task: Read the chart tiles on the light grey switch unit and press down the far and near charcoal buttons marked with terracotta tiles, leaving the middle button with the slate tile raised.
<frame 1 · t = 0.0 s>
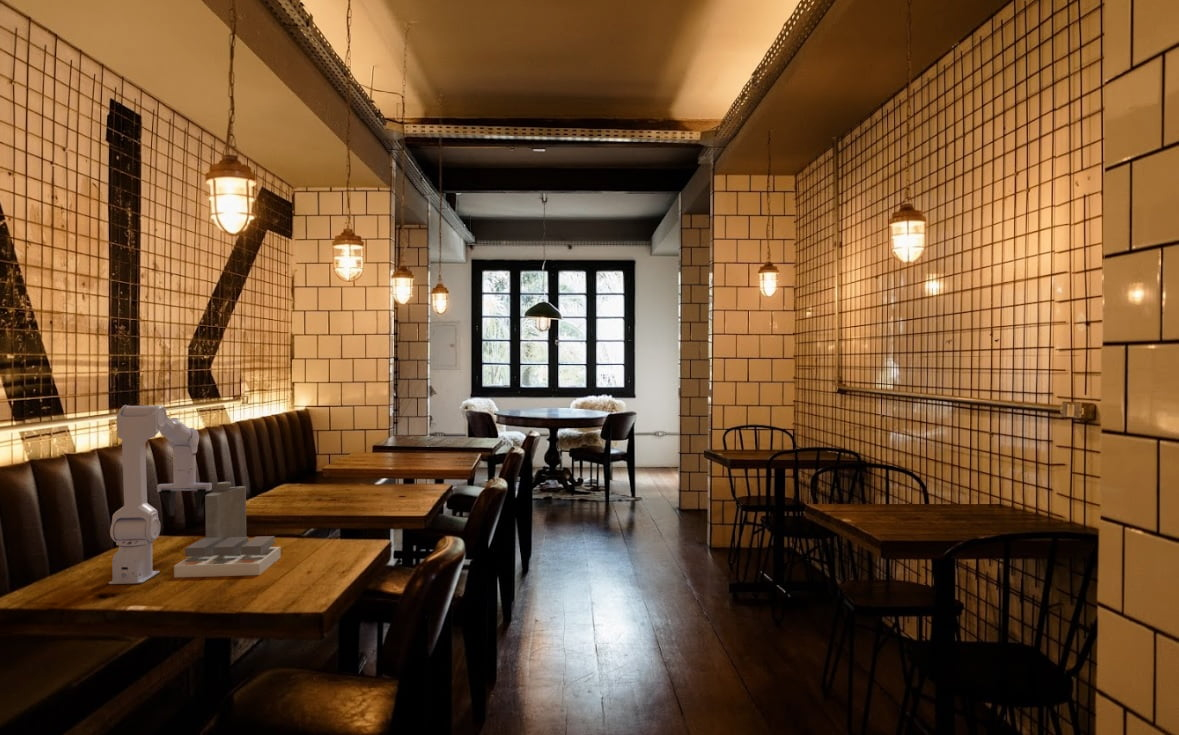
hand: (185, 515, 218), 10 cm above the table, tool pointing down, fingers open, 7 cm apart
hip flask: (225, 551, 217), on the table
button far: (204, 546, 200), point 5 cm above the table, slide at 0.0 cm
button middle: (231, 545, 201), point 5 cm above the table, slide at 0.0 cm
switch unit: (231, 565, 201), on the table
button near: (258, 545, 202), point 5 cm above the table, slide at 0.0 cm
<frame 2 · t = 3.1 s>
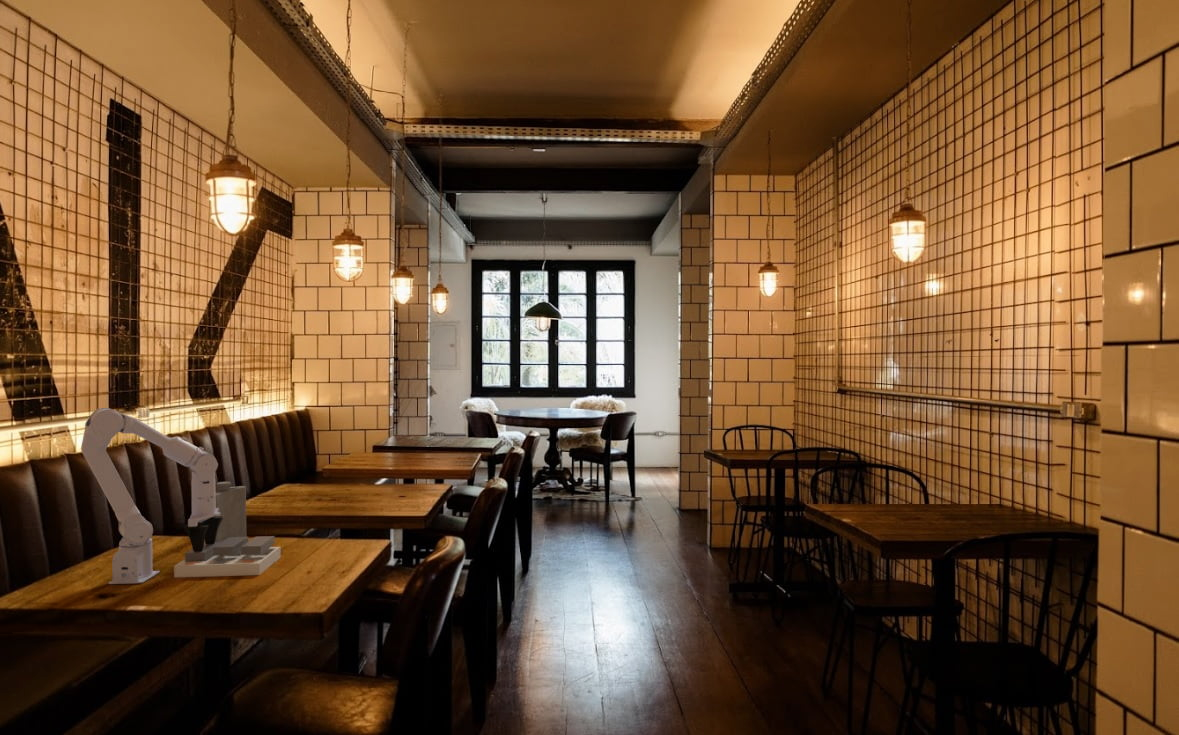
hand: (204, 547, 200), 5 cm above the table, tool pointing down, fingers open, 7 cm apart
button far: (204, 551, 200), point 4 cm above the table, slide at 1.3 cm, touching gripper
everything else where it was.
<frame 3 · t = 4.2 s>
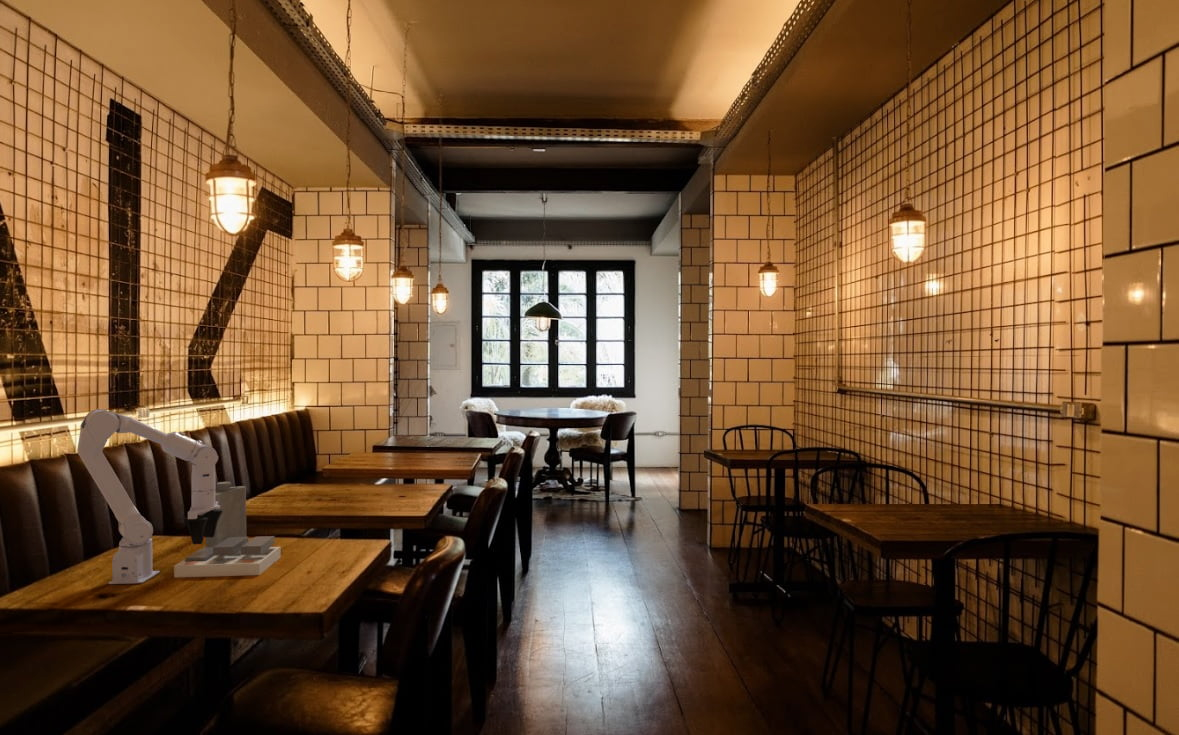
hand: (203, 540, 200), 7 cm above the table, tool pointing down, fingers open, 7 cm apart
button far: (204, 556, 200), point 3 cm above the table, slide at 2.6 cm
everything else where it was.
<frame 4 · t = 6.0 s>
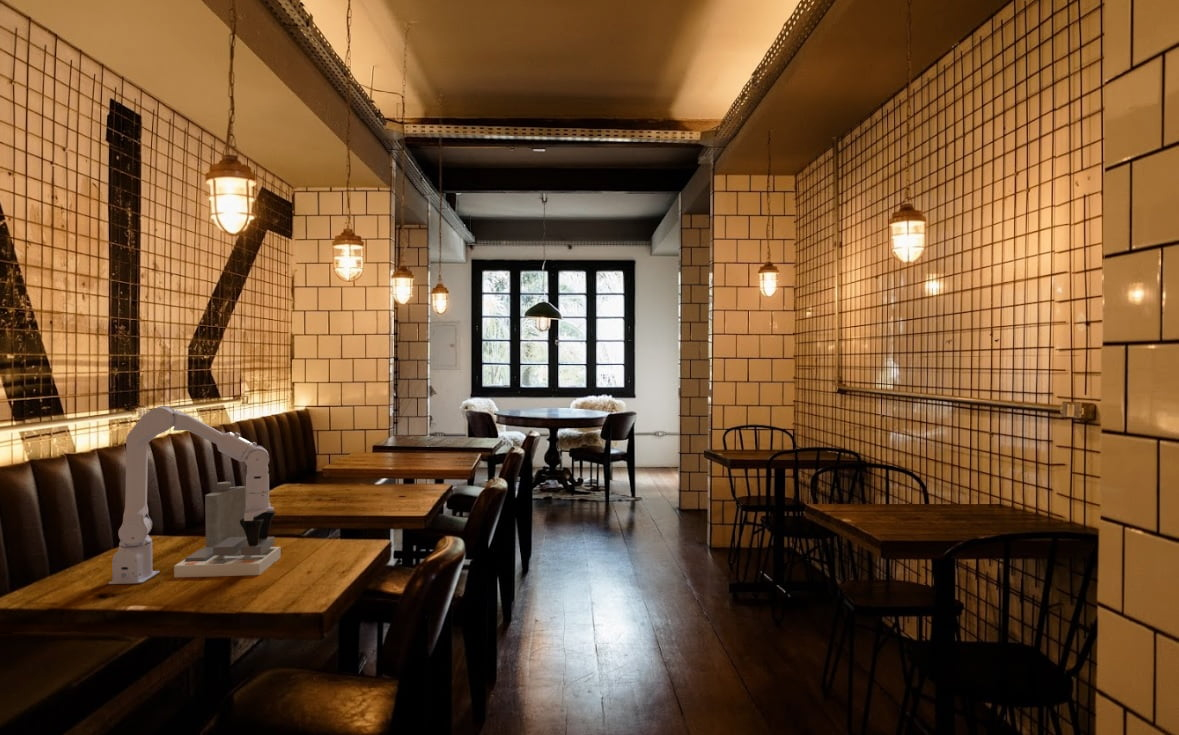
hand: (258, 541, 202), 6 cm above the table, tool pointing down
button near: (258, 545, 202), point 5 cm above the table, slide at 0.2 cm, touching gripper
everything else where it was.
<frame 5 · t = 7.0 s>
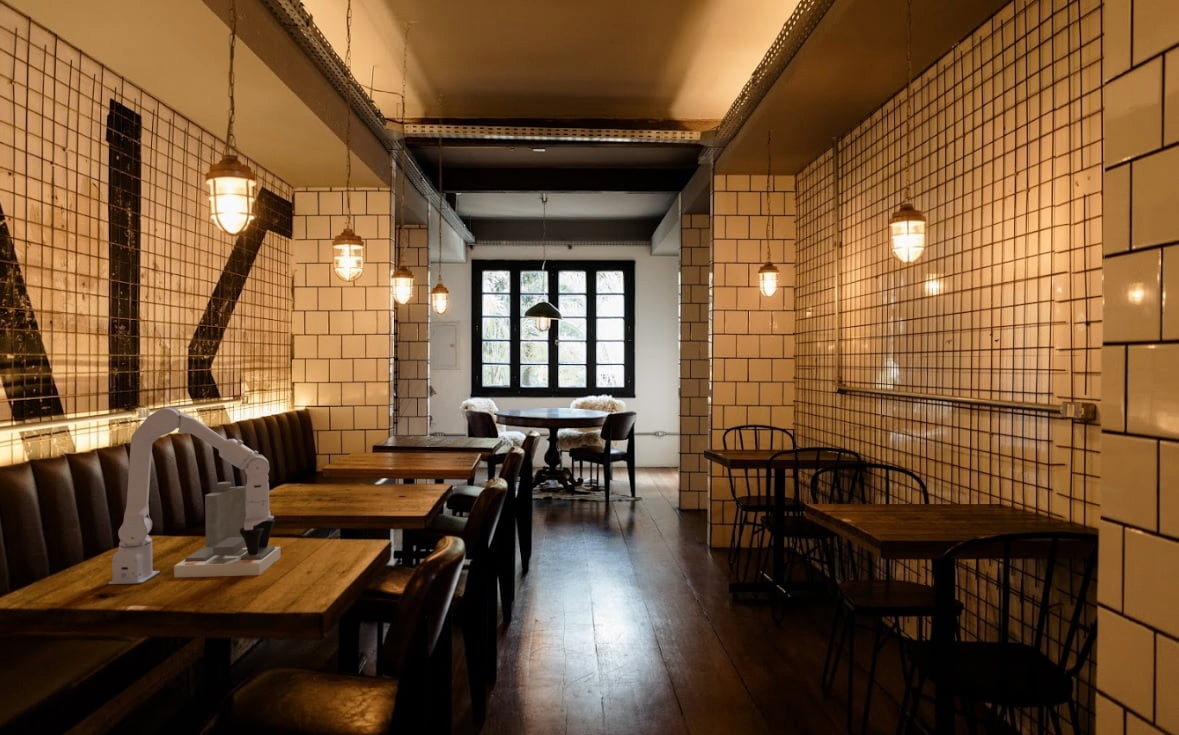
hand: (258, 550, 202), 4 cm above the table, tool pointing down, fingers open, 7 cm apart
button near: (258, 554, 202), point 3 cm above the table, slide at 2.6 cm
everything else where it was.
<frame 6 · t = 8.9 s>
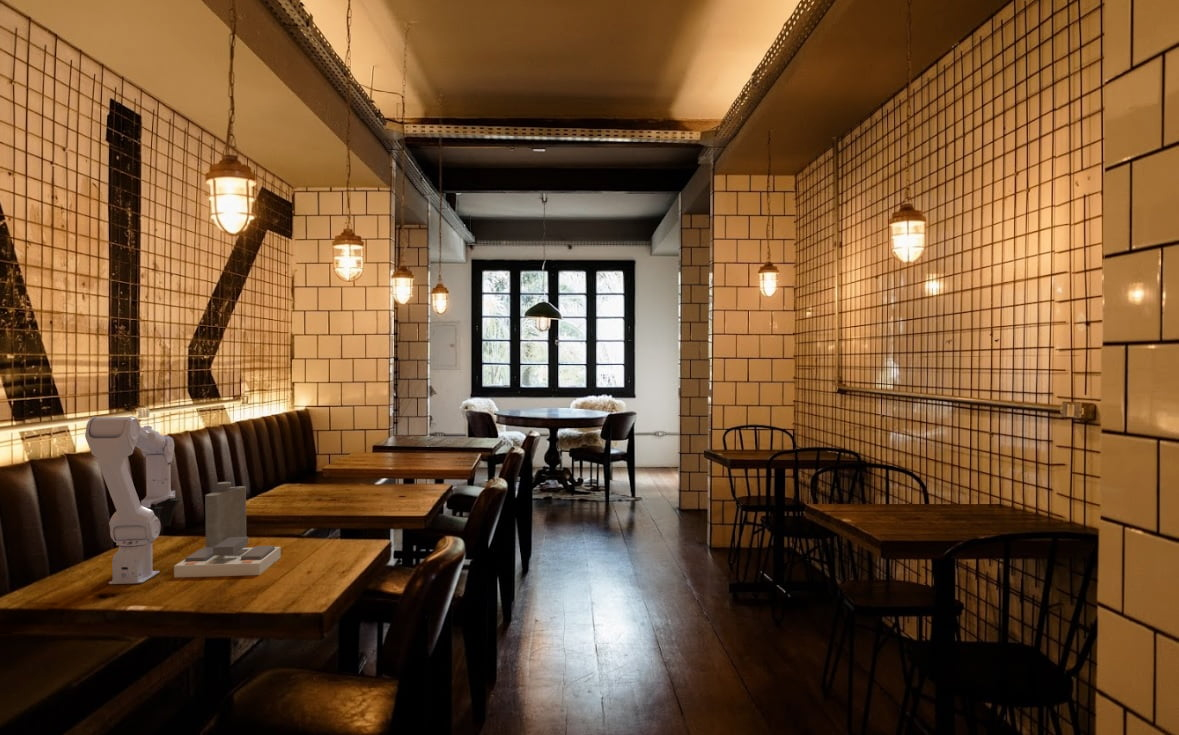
hand: (159, 529, 204), 9 cm above the table, tool pointing down, fingers open, 7 cm apart
nothing on the table moved.
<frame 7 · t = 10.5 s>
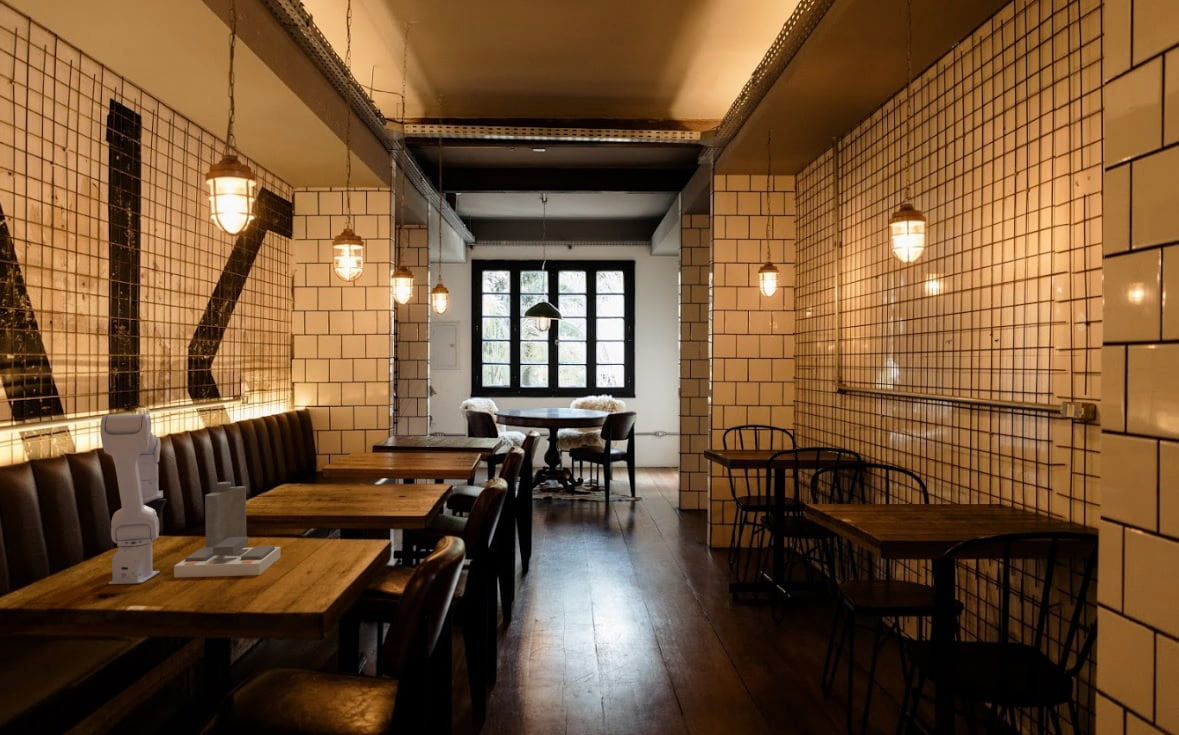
hand: (146, 529, 204), 9 cm above the table, tool pointing down, fingers open, 7 cm apart
nothing on the table moved.
at the end: button far slide at 2.6 cm; button near slide at 2.6 cm; button middle slide at 0.0 cm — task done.
